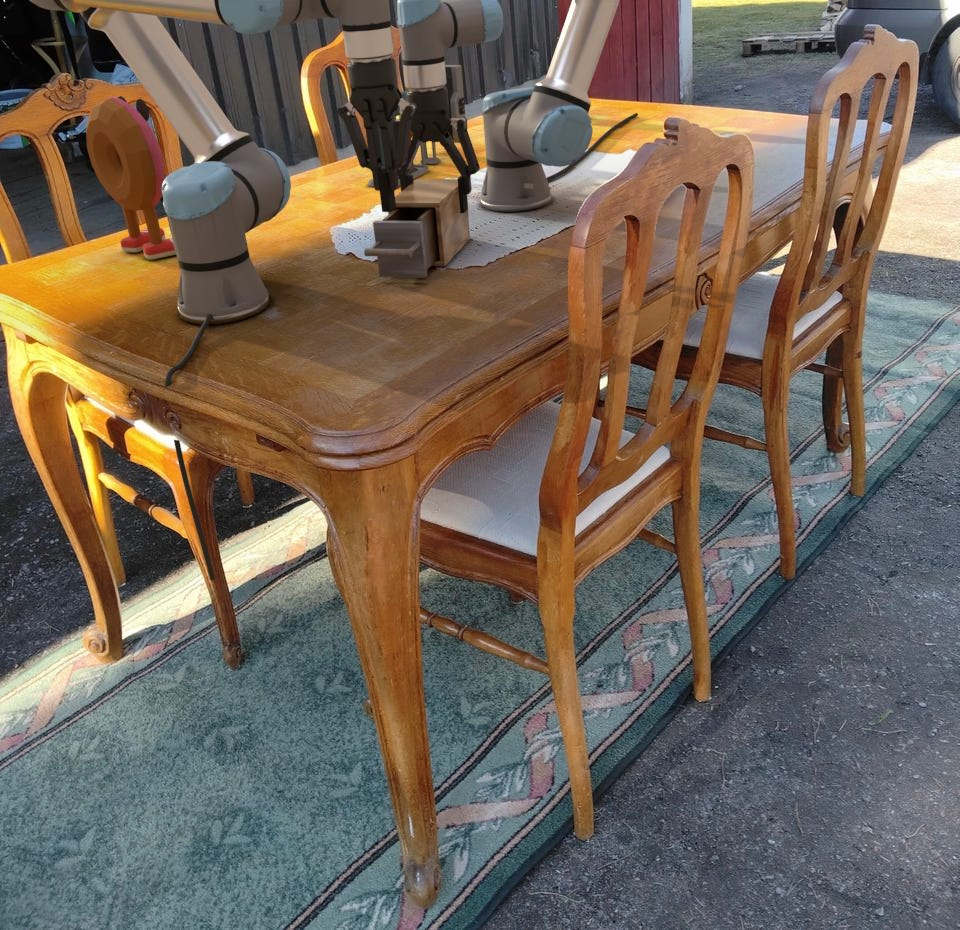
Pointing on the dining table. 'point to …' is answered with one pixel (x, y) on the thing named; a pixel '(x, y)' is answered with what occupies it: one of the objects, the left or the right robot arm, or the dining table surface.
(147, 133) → the toy
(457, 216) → the cabinet
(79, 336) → the dining table surface
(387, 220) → the drawer
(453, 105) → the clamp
